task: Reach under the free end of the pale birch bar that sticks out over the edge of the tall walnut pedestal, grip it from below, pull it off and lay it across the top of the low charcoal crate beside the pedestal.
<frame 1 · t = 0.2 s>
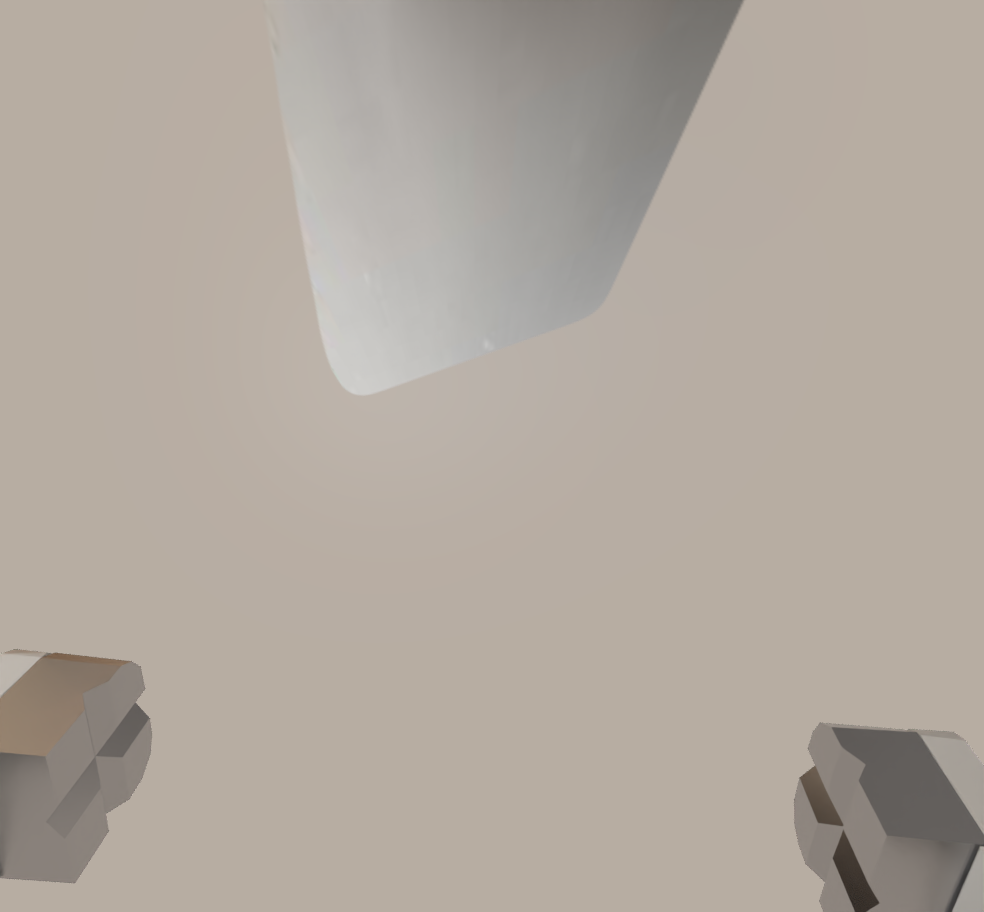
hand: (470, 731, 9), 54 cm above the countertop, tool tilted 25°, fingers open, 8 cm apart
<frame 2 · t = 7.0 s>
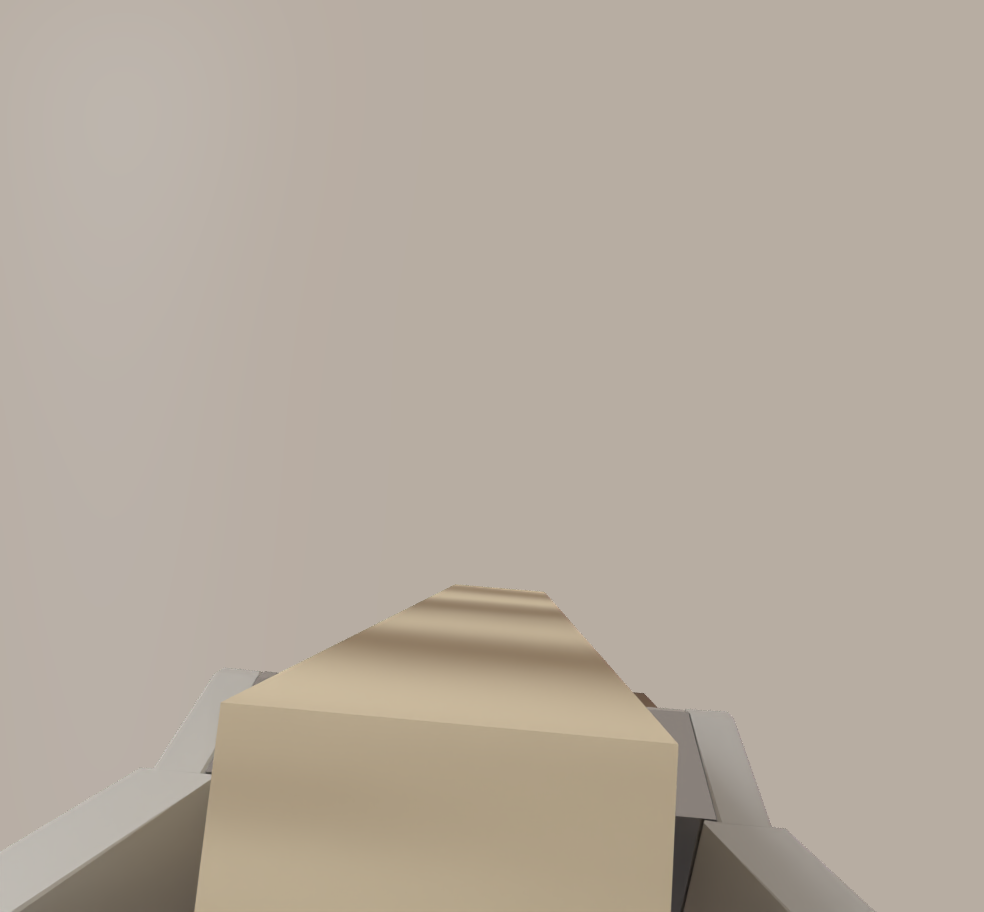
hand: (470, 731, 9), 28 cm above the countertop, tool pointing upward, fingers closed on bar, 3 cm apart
bar: (478, 766, 14), point 26 cm above the countertop, touching gripper, pedestal
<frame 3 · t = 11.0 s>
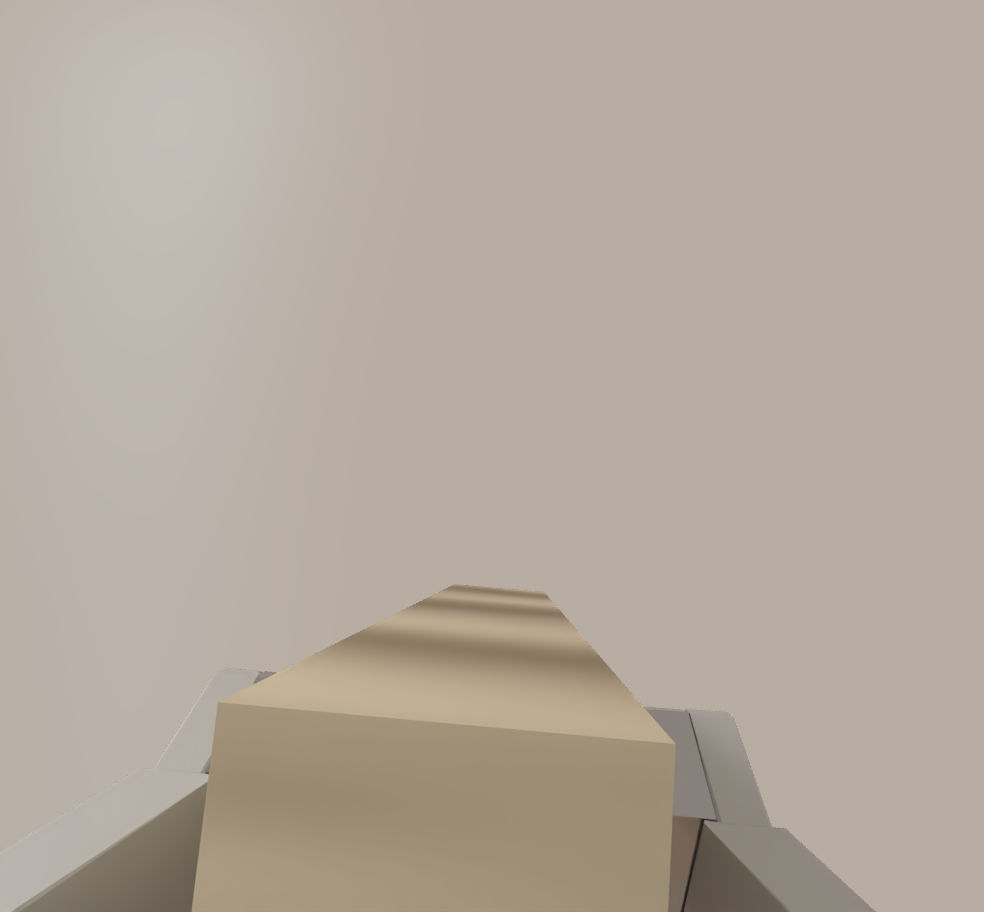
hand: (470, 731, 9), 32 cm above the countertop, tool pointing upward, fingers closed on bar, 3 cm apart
bar: (477, 766, 14), point 30 cm above the countertop, touching gripper
when the fingers open (19 cm above the countertop, at t = 15.1 s): bar drops 2 cm, resting on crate.
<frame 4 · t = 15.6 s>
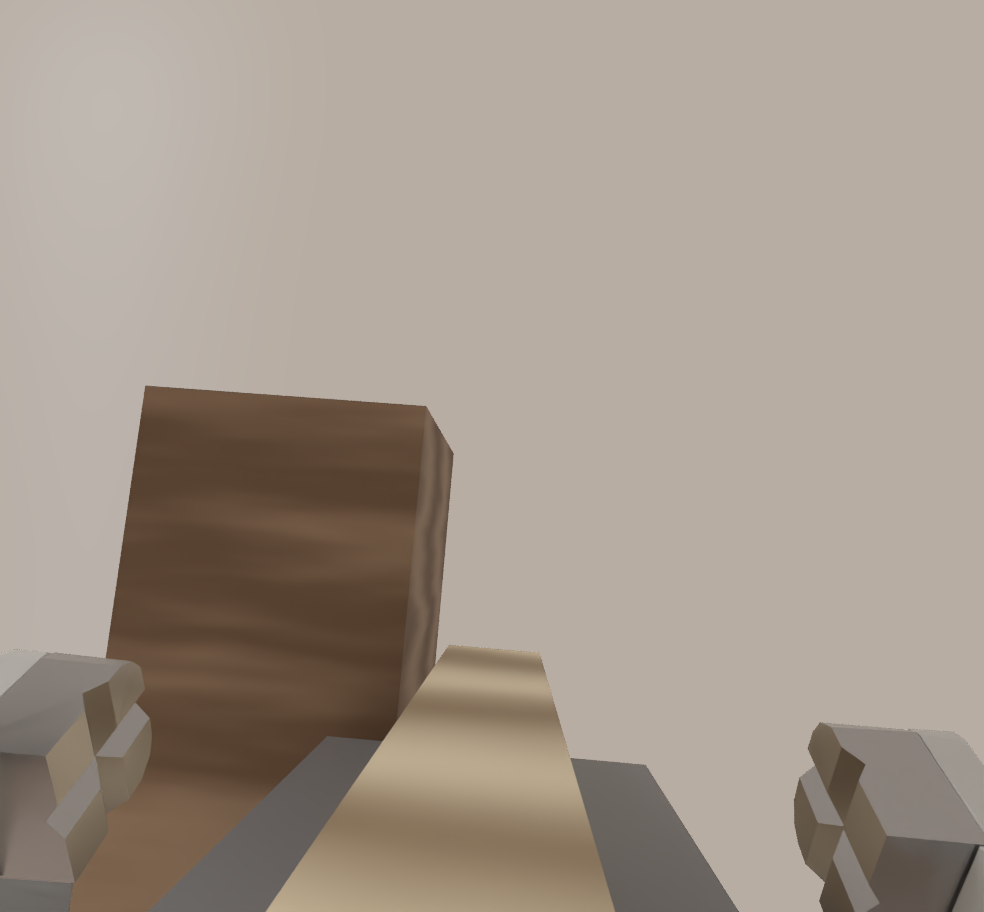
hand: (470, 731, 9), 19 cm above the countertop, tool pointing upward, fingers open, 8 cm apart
bar: (469, 877, 14), point 15 cm above the countertop, touching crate
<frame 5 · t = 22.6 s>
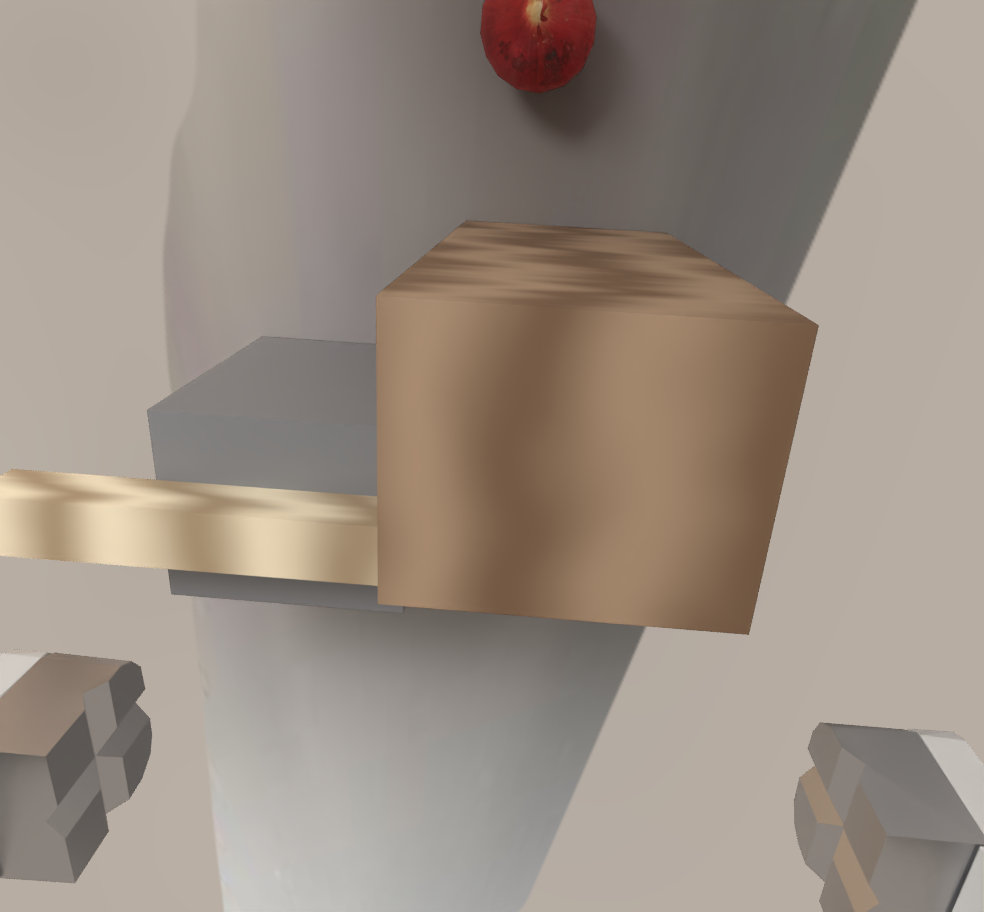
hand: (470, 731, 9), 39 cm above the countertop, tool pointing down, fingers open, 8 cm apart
red apple: (538, 39, 40), on the countertop
bar: (218, 512, 36), point 15 cm above the countertop, touching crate
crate: (354, 415, 49), on the countertop
pedestal: (558, 310, 46), on the countertop
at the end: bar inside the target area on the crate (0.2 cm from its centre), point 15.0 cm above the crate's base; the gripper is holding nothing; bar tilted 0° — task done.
